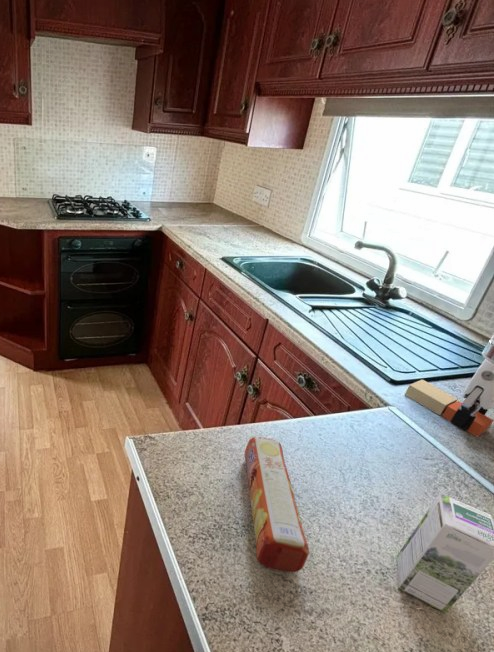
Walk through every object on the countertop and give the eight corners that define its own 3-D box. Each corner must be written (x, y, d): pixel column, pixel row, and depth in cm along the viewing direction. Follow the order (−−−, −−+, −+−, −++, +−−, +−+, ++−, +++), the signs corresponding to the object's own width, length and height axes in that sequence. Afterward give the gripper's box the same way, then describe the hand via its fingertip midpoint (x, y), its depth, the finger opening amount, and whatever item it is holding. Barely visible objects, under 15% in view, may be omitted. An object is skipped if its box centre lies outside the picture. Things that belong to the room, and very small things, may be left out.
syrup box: (440, 577, 58) (492, 511, 52) (446, 616, 54) (503, 549, 47) (395, 555, 61) (439, 489, 54) (397, 590, 56) (445, 523, 50)
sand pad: (452, 408, 96) (458, 398, 94) (439, 415, 93) (445, 405, 92) (417, 388, 102) (422, 379, 101) (404, 394, 99) (409, 384, 98)
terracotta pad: (486, 430, 90) (493, 420, 89) (476, 436, 88) (483, 426, 86) (452, 410, 95) (458, 400, 94) (441, 416, 93) (447, 406, 92)
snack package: (240, 456, 76) (249, 428, 73) (276, 463, 75) (287, 436, 72) (252, 569, 57) (264, 538, 54) (300, 581, 56) (316, 550, 53)
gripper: (512, 374, 76) (465, 445, 85) (546, 357, 84) (500, 423, 93) (467, 353, 82) (427, 422, 90) (503, 339, 90) (463, 403, 98)
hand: (465, 422), depth 91 cm, fingers closed on terracotta pad, 5 cm apart
